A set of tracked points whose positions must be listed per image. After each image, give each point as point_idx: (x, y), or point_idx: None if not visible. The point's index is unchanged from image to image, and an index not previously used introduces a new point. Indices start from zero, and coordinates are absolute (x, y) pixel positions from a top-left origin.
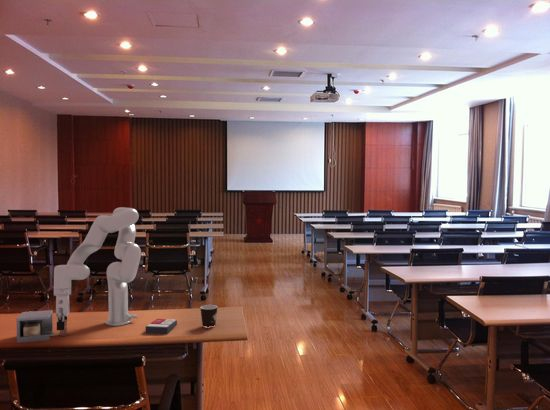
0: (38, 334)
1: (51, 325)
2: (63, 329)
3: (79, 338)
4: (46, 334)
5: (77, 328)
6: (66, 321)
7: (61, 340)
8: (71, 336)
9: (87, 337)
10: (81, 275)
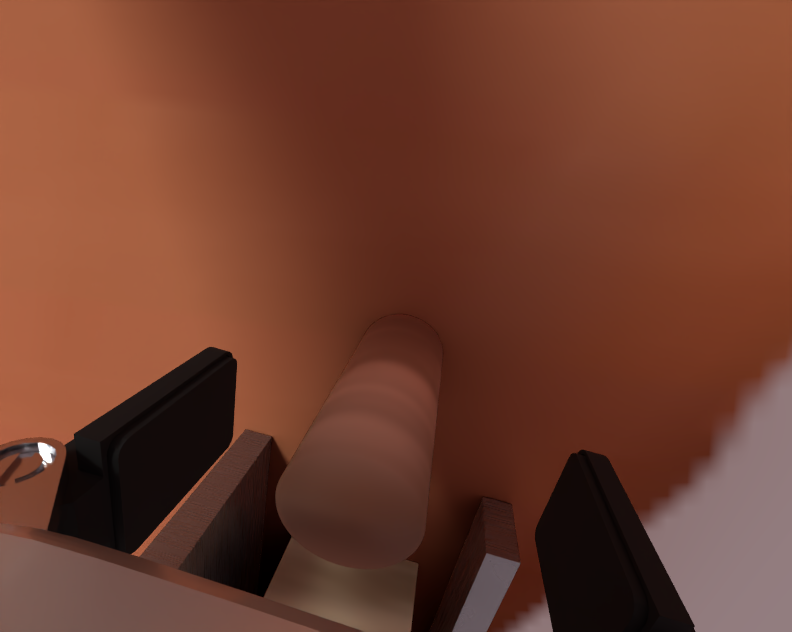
0: (387, 599)
1: (218, 518)
2: (600, 464)
3: (714, 174)
4: (490, 577)
5: (158, 145)
6: (388, 451)
7: (619, 406)
8: (517, 273)
9: (769, 19)
10: None
